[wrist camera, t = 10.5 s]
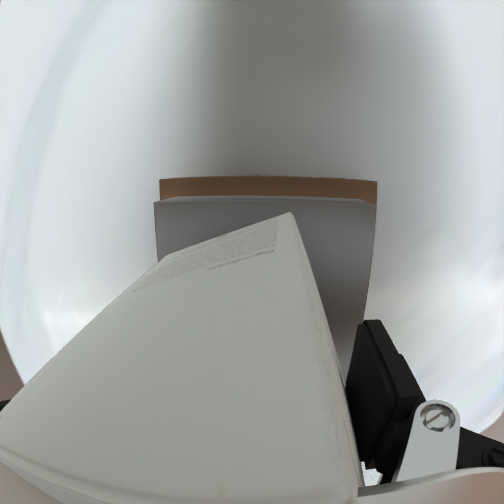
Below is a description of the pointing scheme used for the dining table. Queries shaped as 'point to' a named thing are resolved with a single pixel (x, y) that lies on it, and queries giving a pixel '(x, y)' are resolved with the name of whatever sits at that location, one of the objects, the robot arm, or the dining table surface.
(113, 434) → the small box
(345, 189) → the tower base
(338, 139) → the dining table surface
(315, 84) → the dining table surface
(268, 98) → the dining table surface
